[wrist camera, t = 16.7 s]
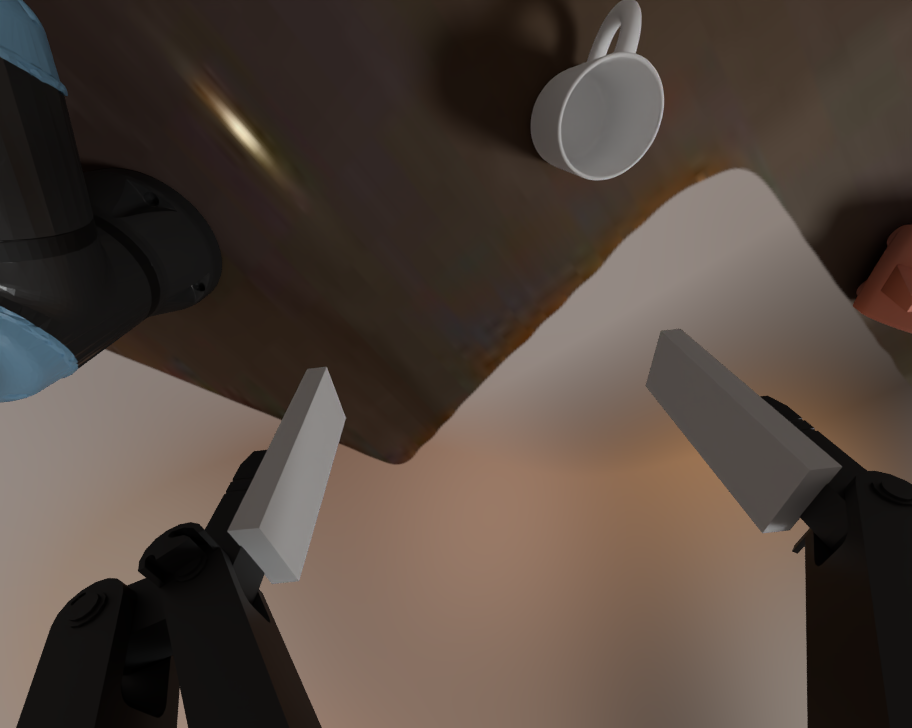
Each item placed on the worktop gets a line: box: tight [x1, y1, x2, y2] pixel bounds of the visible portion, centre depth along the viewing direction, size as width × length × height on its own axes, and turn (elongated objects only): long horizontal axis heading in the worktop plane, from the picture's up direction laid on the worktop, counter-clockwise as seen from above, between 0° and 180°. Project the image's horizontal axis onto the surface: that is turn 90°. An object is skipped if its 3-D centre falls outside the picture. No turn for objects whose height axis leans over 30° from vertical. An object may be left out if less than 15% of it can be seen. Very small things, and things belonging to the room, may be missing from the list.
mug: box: [531, 0, 664, 180], centre depth 31 cm, size 12×8×10 cm
